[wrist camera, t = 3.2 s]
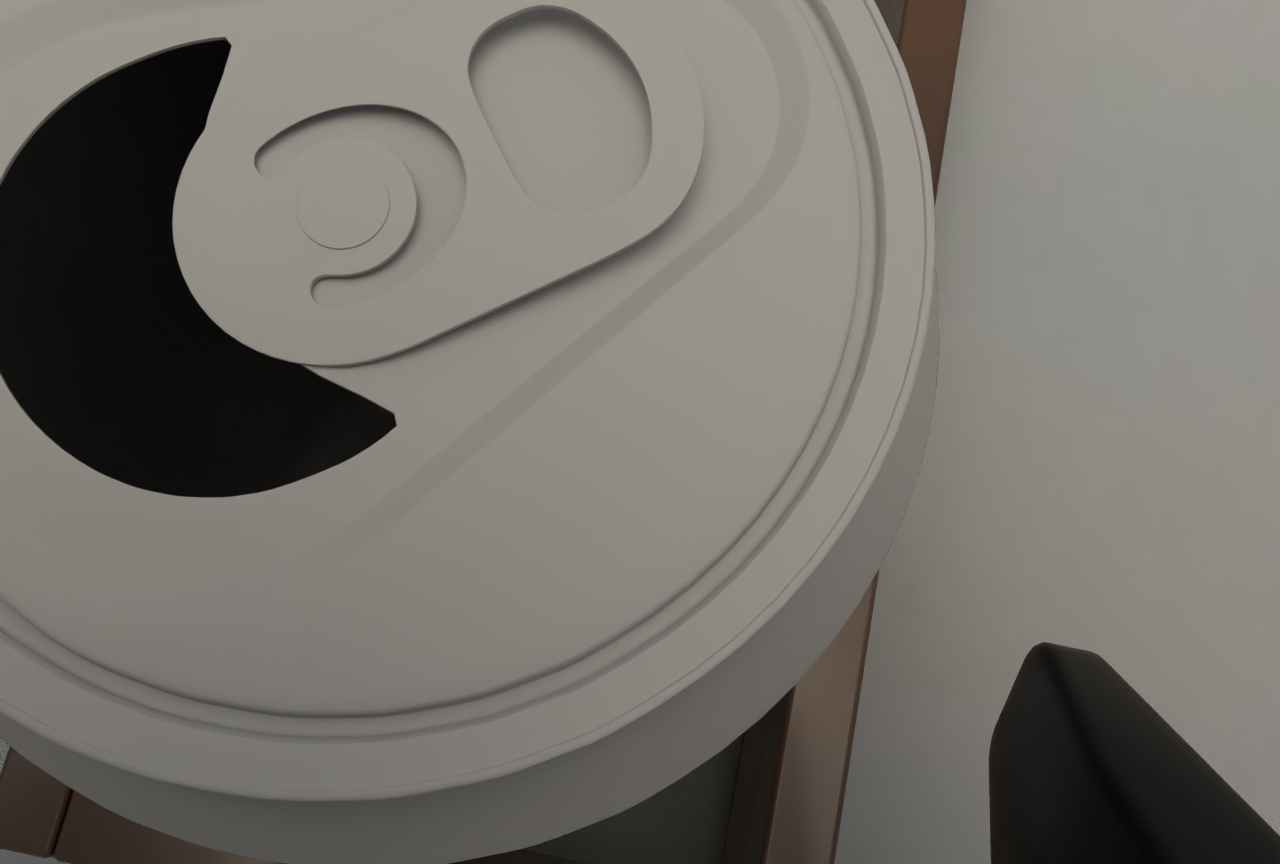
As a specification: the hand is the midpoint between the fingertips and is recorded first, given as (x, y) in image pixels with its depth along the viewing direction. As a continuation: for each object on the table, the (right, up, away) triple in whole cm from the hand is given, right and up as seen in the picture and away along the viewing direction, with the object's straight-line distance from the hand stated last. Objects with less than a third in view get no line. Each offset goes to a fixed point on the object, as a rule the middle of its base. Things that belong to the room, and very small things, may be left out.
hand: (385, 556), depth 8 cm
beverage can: (0, -1, +9) cm, 9 cm away
